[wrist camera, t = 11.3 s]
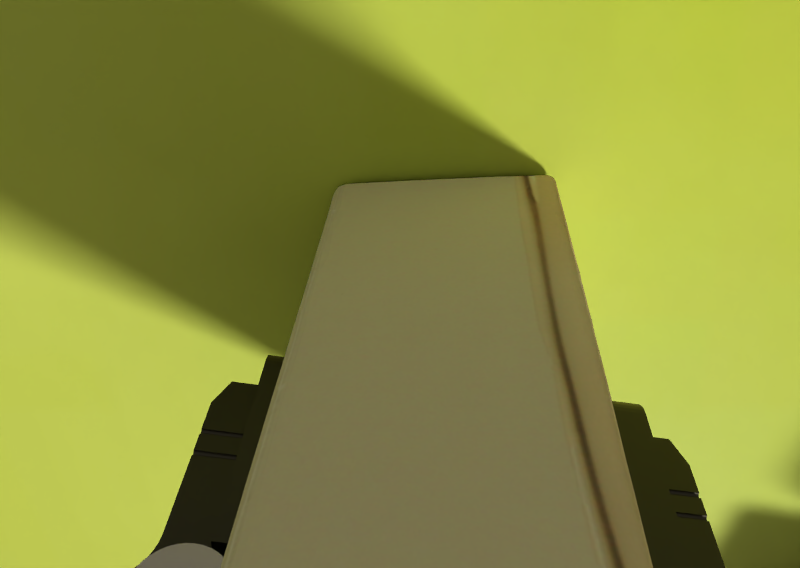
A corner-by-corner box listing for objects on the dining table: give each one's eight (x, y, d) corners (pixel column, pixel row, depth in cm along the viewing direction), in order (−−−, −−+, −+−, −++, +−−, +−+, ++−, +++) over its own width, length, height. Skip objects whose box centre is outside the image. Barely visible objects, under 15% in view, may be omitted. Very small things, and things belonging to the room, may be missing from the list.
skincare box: (545, 402, 17) (693, 1306, 7) (358, 407, 17) (246, 1268, 7) (556, 157, 13) (907, 1343, 3) (318, 171, 13) (-17, 1264, 4)
